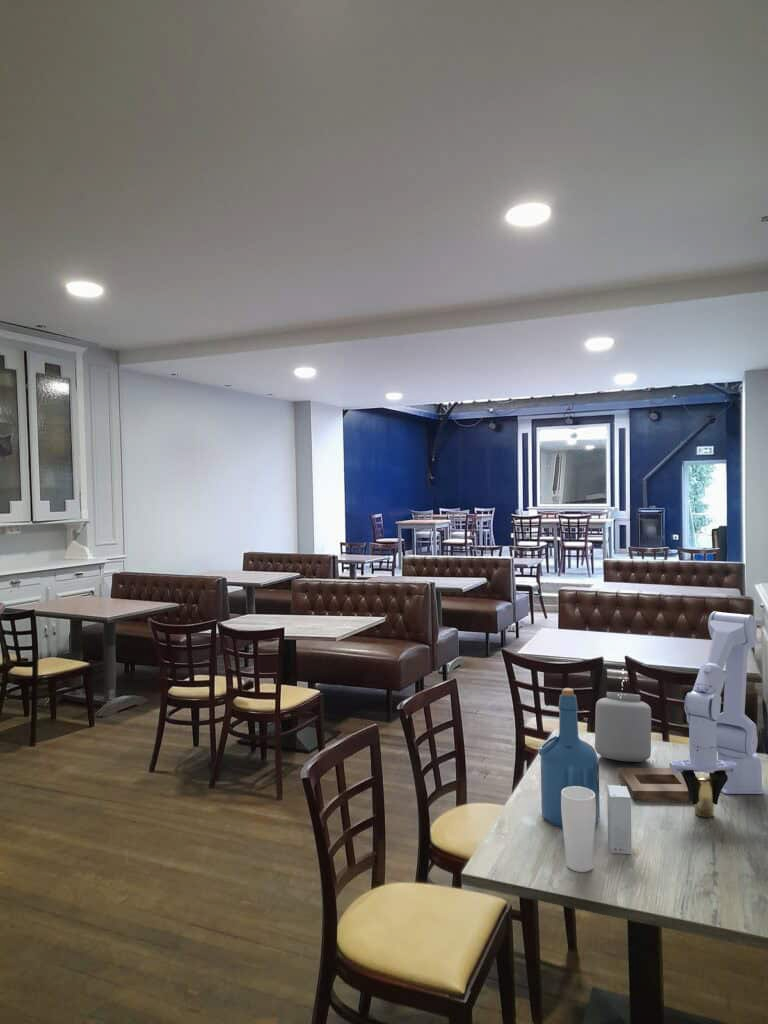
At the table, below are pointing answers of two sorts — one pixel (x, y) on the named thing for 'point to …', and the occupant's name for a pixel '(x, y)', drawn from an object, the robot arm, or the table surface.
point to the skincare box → (619, 819)
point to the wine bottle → (566, 762)
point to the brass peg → (704, 796)
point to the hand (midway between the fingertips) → (703, 802)
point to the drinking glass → (578, 826)
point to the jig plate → (654, 784)
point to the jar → (623, 727)
